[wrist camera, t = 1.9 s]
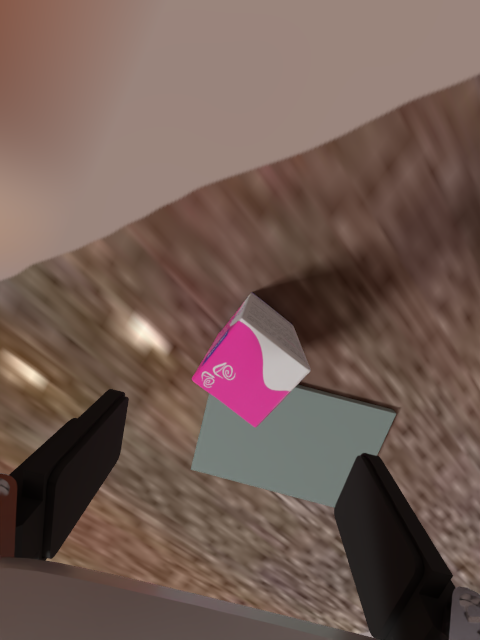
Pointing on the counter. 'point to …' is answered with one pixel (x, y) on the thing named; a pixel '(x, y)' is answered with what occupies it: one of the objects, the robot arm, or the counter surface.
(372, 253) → the counter surface
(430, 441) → the counter surface
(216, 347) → the supplement box
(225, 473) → the rubber mat
